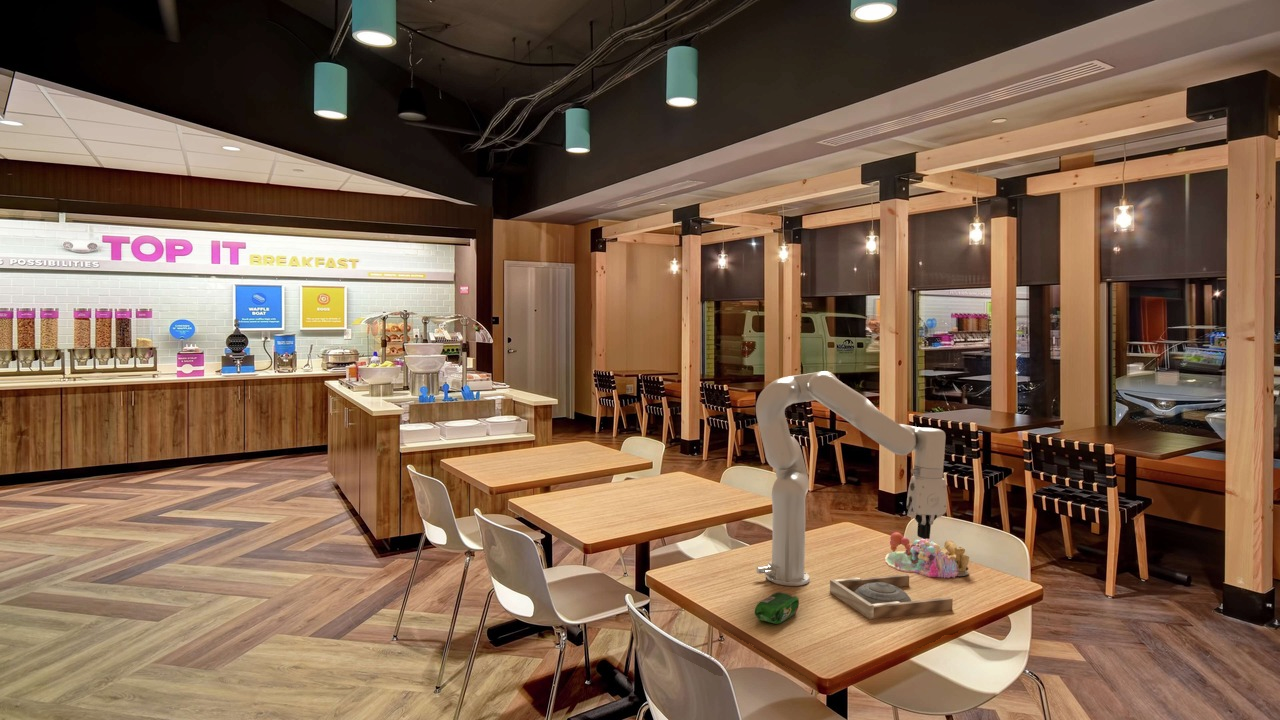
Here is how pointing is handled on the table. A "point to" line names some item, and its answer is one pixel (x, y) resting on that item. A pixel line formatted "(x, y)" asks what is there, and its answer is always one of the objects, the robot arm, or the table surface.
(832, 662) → the table surface
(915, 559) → the candy landscape model
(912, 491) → the robot arm
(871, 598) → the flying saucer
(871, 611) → the bay
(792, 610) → the snack package
